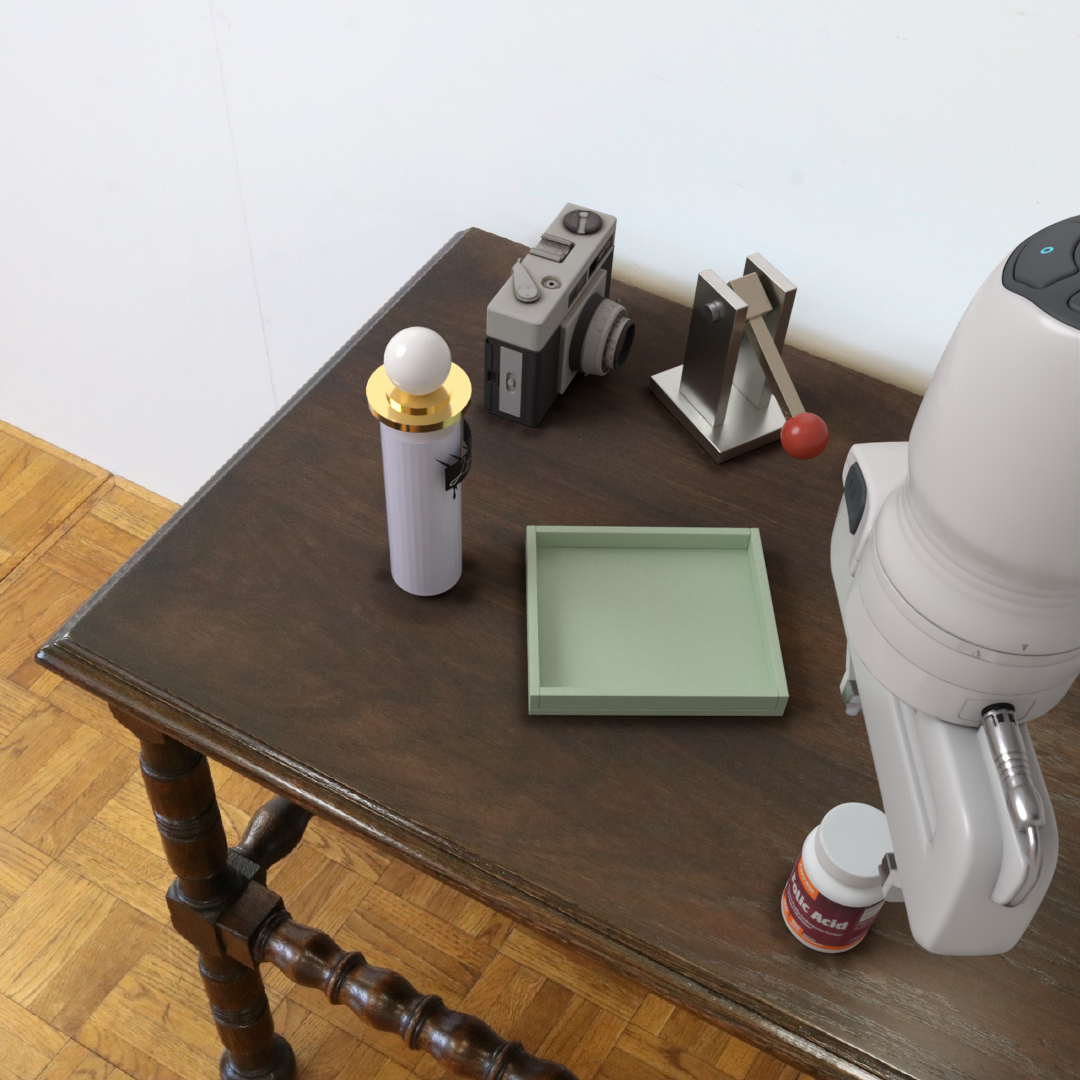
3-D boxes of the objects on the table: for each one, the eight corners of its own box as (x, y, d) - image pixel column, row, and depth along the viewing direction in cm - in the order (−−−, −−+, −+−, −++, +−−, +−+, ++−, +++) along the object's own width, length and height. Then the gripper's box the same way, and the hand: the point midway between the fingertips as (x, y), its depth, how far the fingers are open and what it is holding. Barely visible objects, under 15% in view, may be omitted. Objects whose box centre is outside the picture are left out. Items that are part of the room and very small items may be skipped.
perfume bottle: (371, 601, 80) (347, 360, 65) (396, 535, 84) (379, 292, 68) (459, 618, 79) (456, 379, 64) (480, 550, 83) (482, 309, 68)
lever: (820, 456, 87) (845, 443, 84) (783, 471, 86) (807, 459, 83) (743, 285, 87) (764, 267, 84) (705, 298, 86) (726, 280, 83)
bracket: (796, 432, 92) (831, 302, 83) (717, 464, 89) (745, 334, 80) (724, 359, 97) (749, 229, 88) (648, 388, 94) (666, 257, 85)
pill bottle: (761, 911, 67) (791, 836, 61) (816, 855, 70) (850, 777, 63) (833, 974, 65) (872, 903, 59) (887, 914, 67) (929, 839, 61)
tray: (753, 548, 84) (758, 527, 82) (782, 716, 75) (789, 696, 74) (525, 546, 83) (526, 525, 82) (528, 715, 75) (530, 695, 73)
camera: (583, 447, 90) (593, 337, 82) (479, 410, 92) (480, 301, 84) (654, 333, 98) (669, 225, 91) (557, 302, 100) (564, 194, 93)
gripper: (1146, 862, 41) (1003, 1018, 51) (987, 421, 54) (899, 616, 65) (954, 861, 40) (850, 1018, 51) (842, 417, 54) (777, 614, 64)
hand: (877, 790), depth 58 cm, fingers open, 8 cm apart
